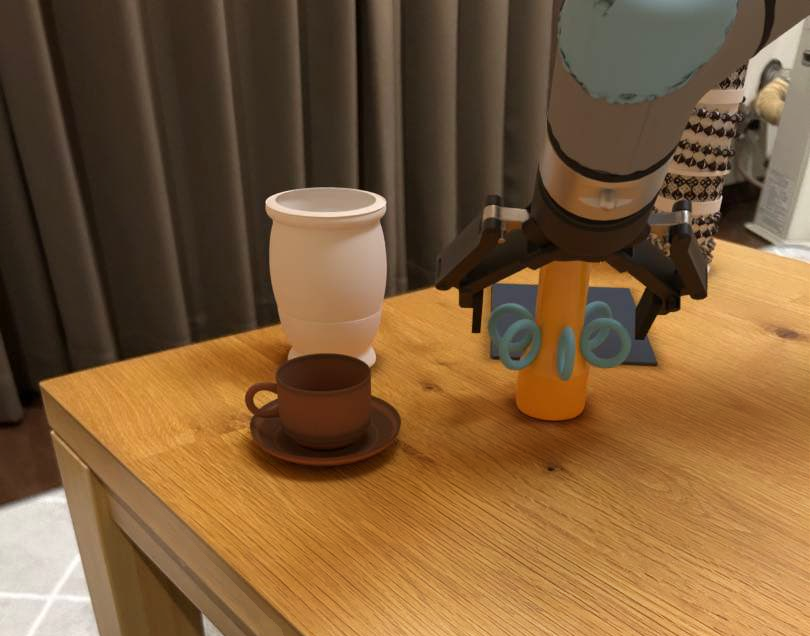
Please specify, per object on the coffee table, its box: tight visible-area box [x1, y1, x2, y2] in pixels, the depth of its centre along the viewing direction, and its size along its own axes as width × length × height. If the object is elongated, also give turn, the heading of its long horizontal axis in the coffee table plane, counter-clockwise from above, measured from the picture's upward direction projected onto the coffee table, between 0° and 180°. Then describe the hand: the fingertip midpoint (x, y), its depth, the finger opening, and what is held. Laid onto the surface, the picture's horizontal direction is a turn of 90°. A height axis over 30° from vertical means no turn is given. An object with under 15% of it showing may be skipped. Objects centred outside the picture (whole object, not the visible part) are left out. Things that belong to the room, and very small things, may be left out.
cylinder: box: [487, 260, 631, 421], centre depth 72 cm, size 12×10×15 cm
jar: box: [265, 187, 388, 368], centre depth 79 cm, size 11×10×15 cm
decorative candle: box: [647, 60, 750, 274], centre depth 102 cm, size 9×9×25 cm
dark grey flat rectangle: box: [490, 282, 659, 367], centre depth 93 cm, size 22×16×1 cm
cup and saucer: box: [244, 353, 402, 467], centre depth 68 cm, size 12×12×6 cm
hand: (557, 321), depth 73 cm, fingers open, 13 cm apart
